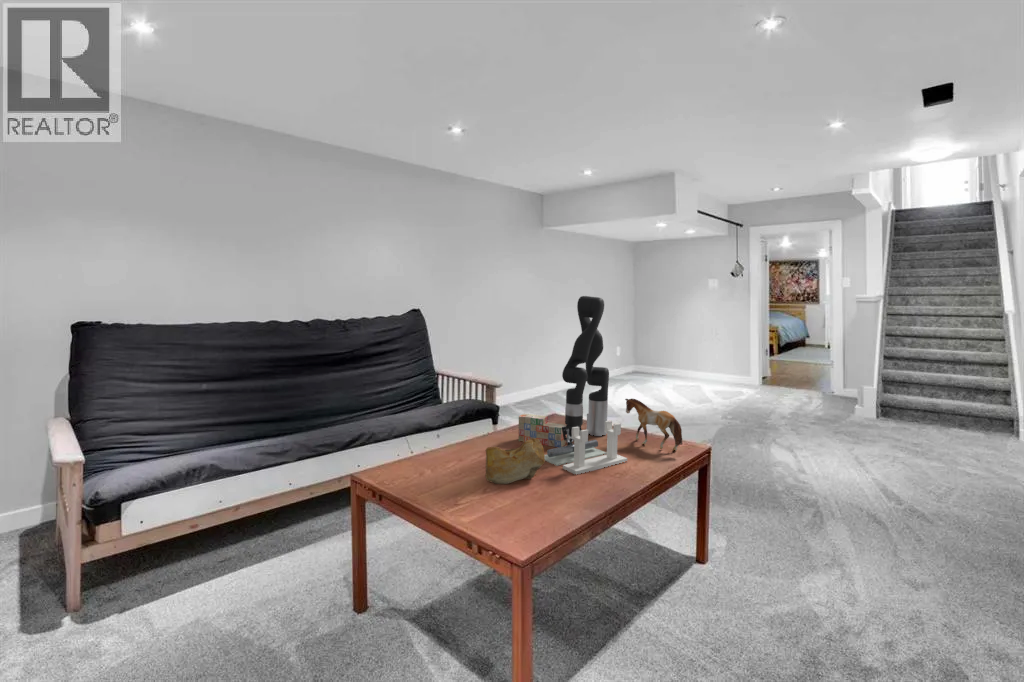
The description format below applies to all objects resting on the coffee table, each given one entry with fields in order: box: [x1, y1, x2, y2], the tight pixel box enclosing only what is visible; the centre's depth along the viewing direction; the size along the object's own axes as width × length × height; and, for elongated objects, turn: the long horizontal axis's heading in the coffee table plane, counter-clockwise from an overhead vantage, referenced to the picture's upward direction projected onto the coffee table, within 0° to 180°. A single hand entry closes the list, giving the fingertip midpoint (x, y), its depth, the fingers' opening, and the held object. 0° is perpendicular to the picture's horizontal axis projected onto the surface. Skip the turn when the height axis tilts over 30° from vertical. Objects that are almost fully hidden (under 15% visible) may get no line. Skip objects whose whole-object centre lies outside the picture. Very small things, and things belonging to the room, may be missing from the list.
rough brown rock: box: [485, 438, 545, 485], centre depth 196 cm, size 23×17×15 cm
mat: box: [544, 447, 607, 467], centre depth 222 cm, size 12×28×1 cm, turn 124°
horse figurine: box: [624, 398, 683, 451], centre depth 234 cm, size 31×8×21 cm, turn 39°
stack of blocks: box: [518, 413, 566, 448], centre depth 239 cm, size 21×6×12 cm, turn 64°
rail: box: [546, 439, 599, 457], centre depth 221 cm, size 26×3×3 cm, turn 124°
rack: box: [562, 420, 628, 476], centre depth 209 cm, size 8×28×16 cm, turn 124°
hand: (573, 452), depth 222 cm, fingers open, 3 cm apart
